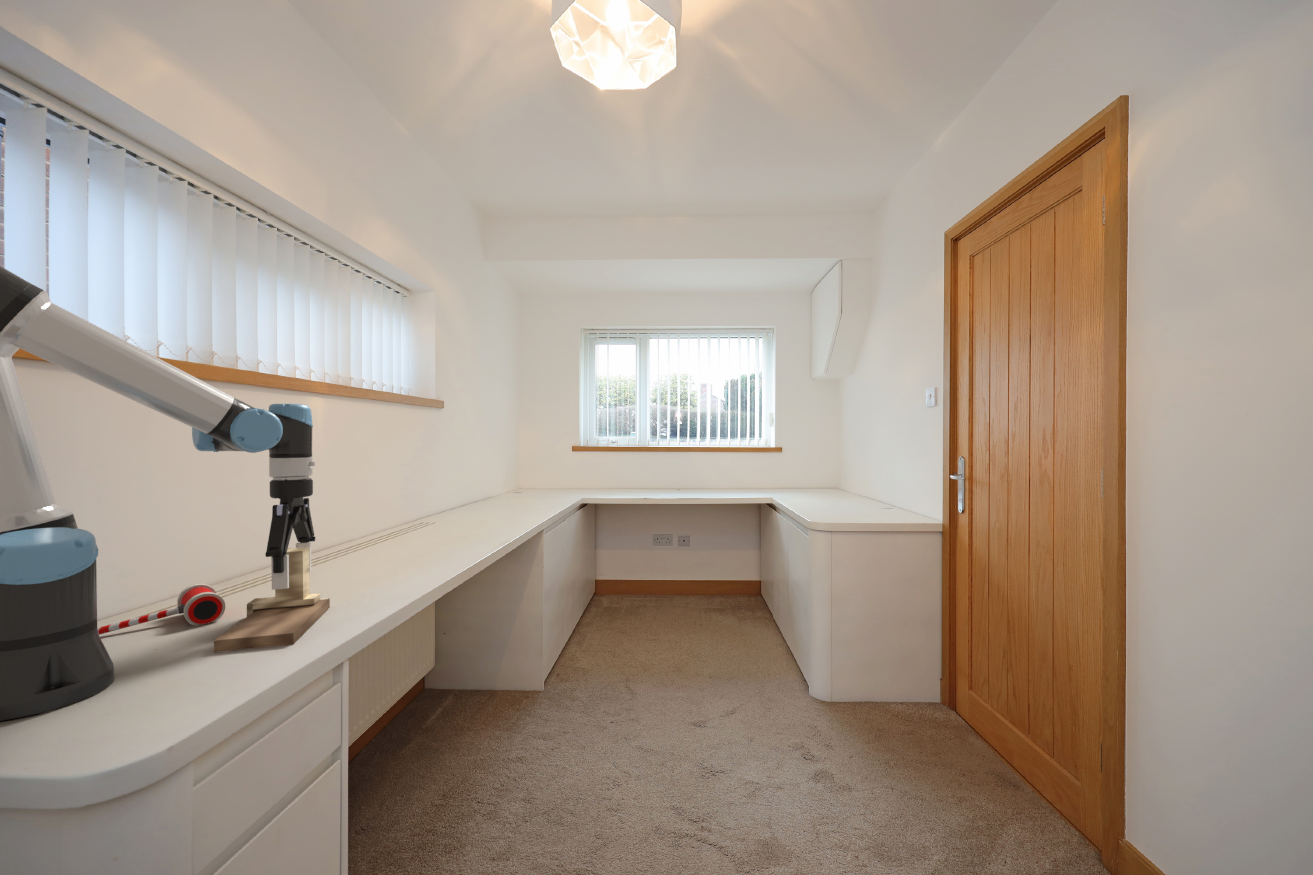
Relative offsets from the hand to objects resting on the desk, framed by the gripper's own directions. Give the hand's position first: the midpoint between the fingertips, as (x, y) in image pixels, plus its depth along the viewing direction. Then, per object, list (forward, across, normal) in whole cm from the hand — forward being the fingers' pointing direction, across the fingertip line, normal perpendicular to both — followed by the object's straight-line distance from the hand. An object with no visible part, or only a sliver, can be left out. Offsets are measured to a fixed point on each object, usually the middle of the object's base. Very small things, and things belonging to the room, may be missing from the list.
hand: (292, 580), depth 115 cm
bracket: (+7, 0, +2) cm, 7 cm away
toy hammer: (+8, 0, +23) cm, 24 cm away
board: (+7, -8, 0) cm, 11 cm away
